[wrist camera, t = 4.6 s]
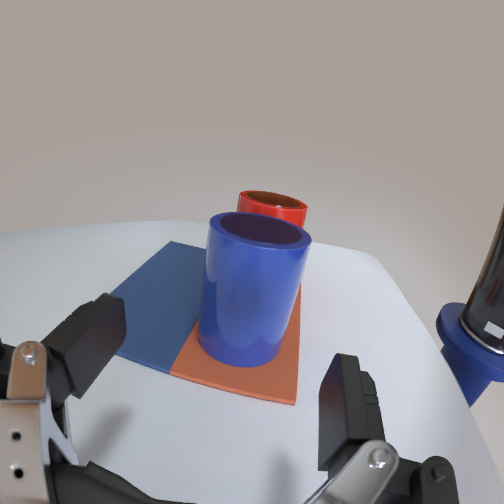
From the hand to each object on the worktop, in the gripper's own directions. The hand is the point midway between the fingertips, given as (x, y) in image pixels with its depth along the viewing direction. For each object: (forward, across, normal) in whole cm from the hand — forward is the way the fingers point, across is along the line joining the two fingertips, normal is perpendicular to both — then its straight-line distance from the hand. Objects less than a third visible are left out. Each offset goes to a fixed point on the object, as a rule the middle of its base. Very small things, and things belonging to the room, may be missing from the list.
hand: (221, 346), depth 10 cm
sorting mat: (+13, +4, +7) cm, 15 cm away
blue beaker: (+9, 0, +7) cm, 11 cm away
